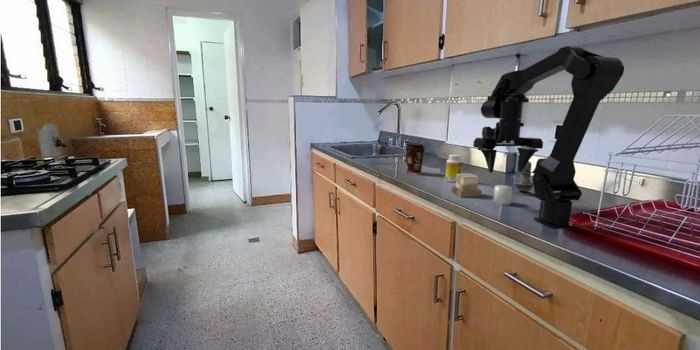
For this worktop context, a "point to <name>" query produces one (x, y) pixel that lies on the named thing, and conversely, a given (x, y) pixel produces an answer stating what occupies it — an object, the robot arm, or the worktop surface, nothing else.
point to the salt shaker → (524, 181)
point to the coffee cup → (414, 157)
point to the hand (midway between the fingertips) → (505, 172)
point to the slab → (466, 192)
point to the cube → (467, 181)
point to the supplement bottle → (453, 168)
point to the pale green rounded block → (502, 195)
